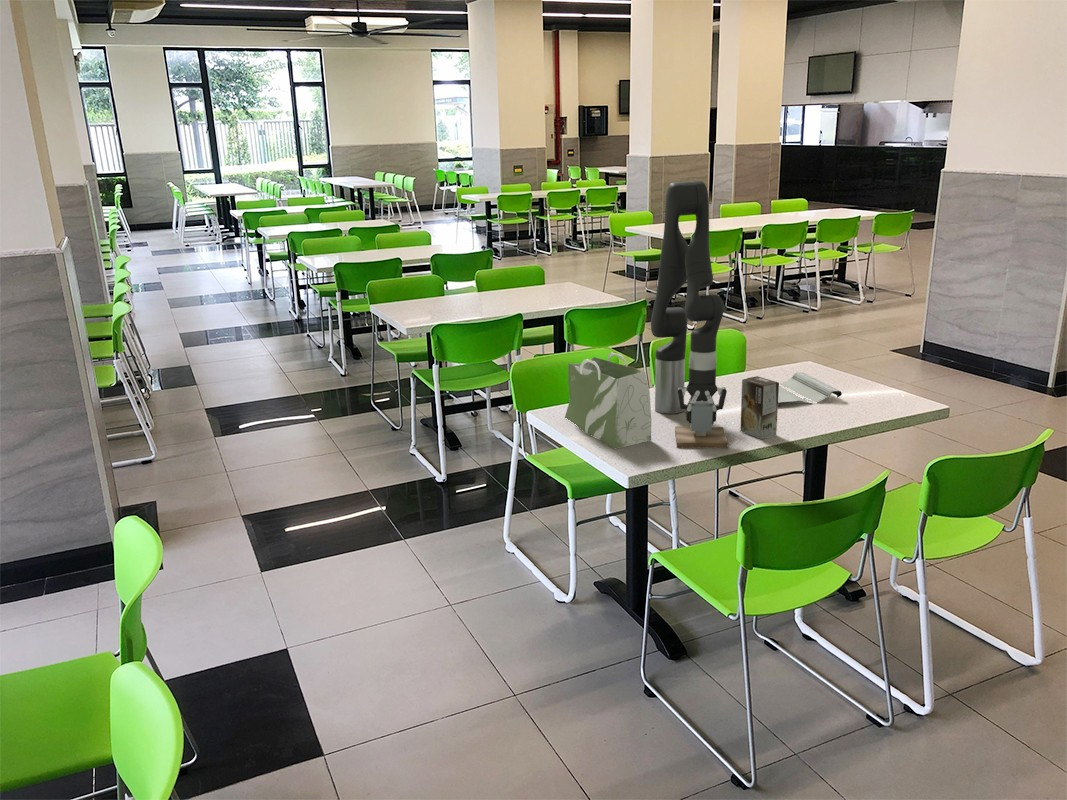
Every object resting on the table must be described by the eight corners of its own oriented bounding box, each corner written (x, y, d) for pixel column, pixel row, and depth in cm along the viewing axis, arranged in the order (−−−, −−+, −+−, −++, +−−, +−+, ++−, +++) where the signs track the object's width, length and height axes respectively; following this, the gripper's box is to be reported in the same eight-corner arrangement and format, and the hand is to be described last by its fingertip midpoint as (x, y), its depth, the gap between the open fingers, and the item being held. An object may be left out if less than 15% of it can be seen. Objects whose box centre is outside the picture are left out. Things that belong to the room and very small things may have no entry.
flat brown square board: (674, 431, 244) (675, 407, 242) (722, 431, 242) (723, 407, 240) (676, 447, 231) (677, 422, 229) (727, 448, 229) (728, 422, 227)
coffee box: (777, 435, 238) (780, 382, 233) (761, 439, 235) (764, 385, 230) (754, 427, 245) (757, 375, 241) (738, 431, 242) (741, 378, 238)
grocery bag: (560, 419, 259) (559, 347, 252) (599, 412, 264) (598, 342, 258) (612, 449, 231) (612, 370, 224) (654, 441, 237) (655, 363, 230)
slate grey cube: (690, 424, 239) (690, 400, 236) (710, 424, 238) (711, 400, 236) (691, 431, 233) (691, 406, 231) (712, 431, 232) (712, 406, 230)
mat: (742, 390, 285) (743, 377, 283) (804, 384, 289) (805, 371, 288) (775, 409, 263) (776, 395, 261) (841, 402, 268) (842, 388, 266)
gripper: (727, 362, 233) (725, 419, 238) (676, 362, 235) (675, 418, 240) (730, 369, 226) (727, 427, 231) (677, 369, 228) (676, 426, 232)
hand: (700, 422), depth 235 cm, fingers closed on slate grey cube, 5 cm apart
